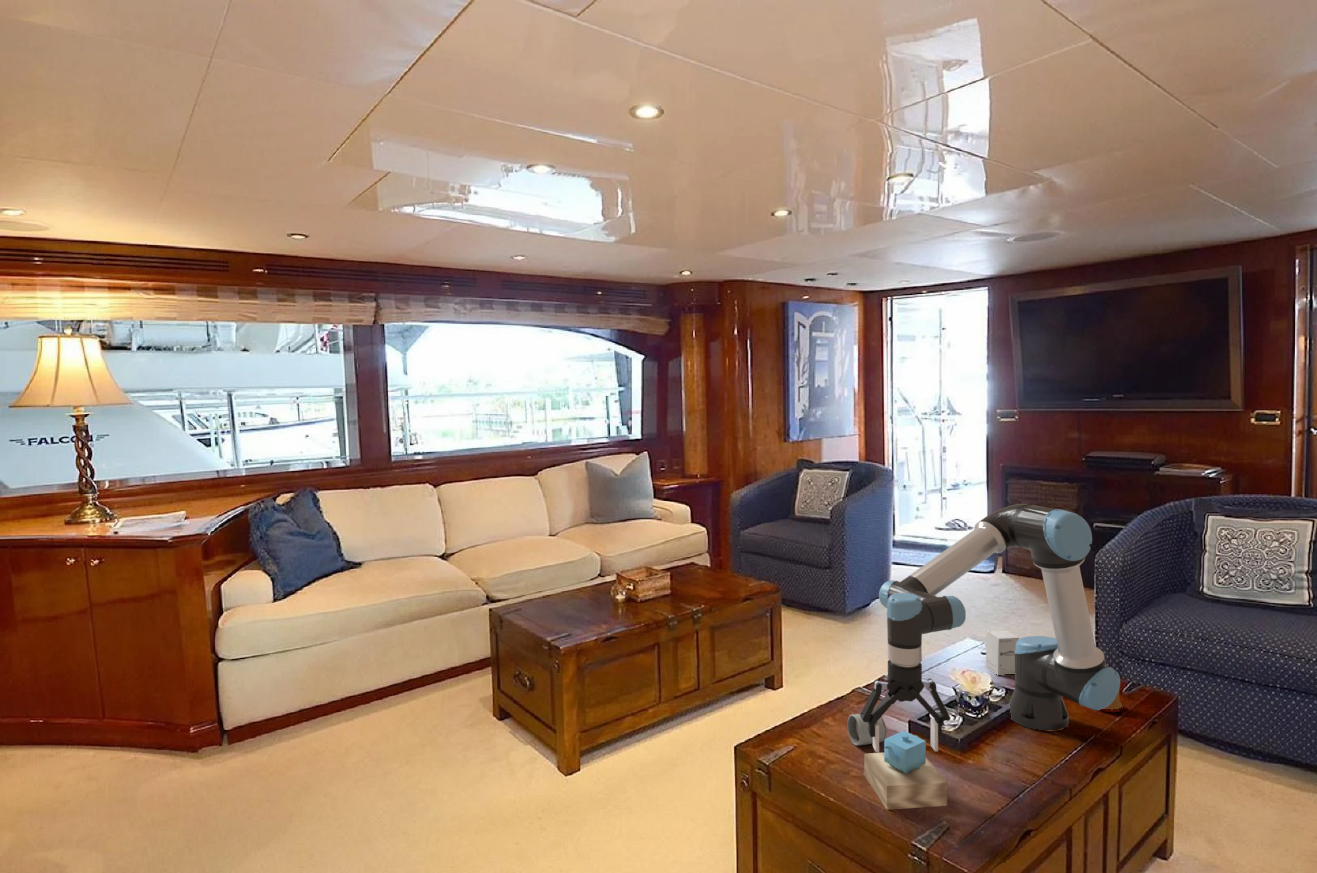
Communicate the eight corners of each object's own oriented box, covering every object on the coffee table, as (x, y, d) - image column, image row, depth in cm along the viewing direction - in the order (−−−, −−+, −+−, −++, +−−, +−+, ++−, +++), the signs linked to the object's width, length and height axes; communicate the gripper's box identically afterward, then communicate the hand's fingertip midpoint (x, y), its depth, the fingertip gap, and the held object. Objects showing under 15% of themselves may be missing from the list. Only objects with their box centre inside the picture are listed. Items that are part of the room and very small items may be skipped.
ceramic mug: (888, 747, 185) (888, 718, 185) (860, 751, 184) (859, 722, 183) (868, 728, 196) (868, 701, 195) (841, 732, 194) (840, 705, 194)
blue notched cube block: (896, 781, 160) (896, 749, 159) (874, 769, 165) (874, 738, 164) (929, 765, 166) (929, 734, 165) (908, 754, 171) (908, 724, 171)
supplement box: (997, 676, 227) (998, 638, 226) (985, 667, 234) (985, 630, 234) (1019, 675, 228) (1020, 637, 227) (1006, 666, 235) (1006, 629, 234)
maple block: (919, 773, 173) (920, 750, 173) (947, 807, 159) (947, 782, 159) (864, 777, 172) (864, 753, 172) (886, 811, 158) (886, 786, 158)
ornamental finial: (1096, 713, 201) (1088, 701, 208) (1126, 715, 199) (1116, 703, 206) (1097, 685, 201) (1088, 675, 208) (1127, 688, 199) (1117, 677, 206)
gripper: (952, 653, 167) (952, 739, 169) (846, 655, 168) (847, 741, 169) (965, 666, 160) (965, 756, 161) (854, 668, 160) (855, 758, 162)
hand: (905, 749), depth 165 cm, fingers open, 13 cm apart
